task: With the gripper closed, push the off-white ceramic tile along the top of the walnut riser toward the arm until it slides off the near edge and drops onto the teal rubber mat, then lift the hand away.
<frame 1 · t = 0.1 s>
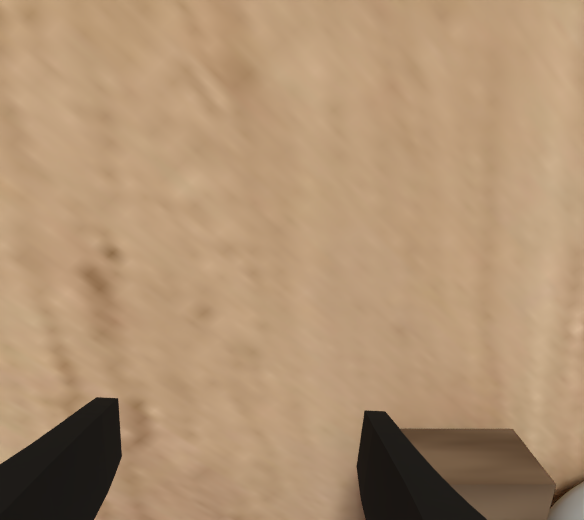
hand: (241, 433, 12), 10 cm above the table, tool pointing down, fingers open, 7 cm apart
riser: (436, 494, 25), on the table
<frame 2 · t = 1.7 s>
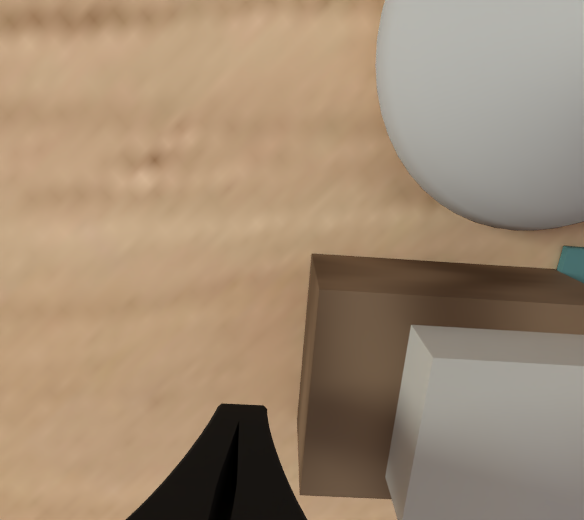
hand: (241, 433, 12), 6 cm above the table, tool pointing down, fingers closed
flower in vase: (525, 38, 14), on the table
riser: (418, 349, 17), on the table
tile: (484, 410, 14), point 4 cm above the table, touching riser
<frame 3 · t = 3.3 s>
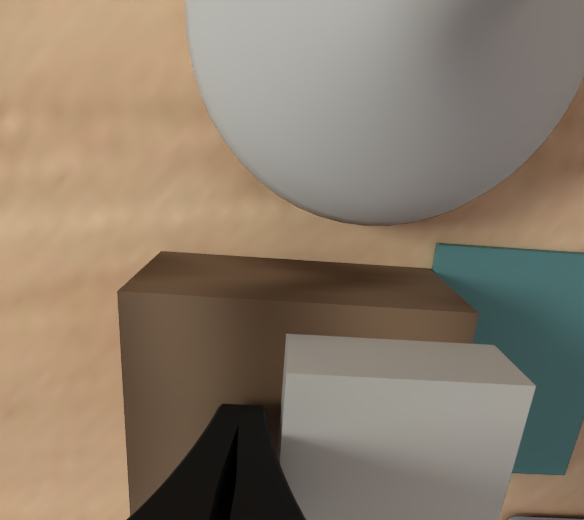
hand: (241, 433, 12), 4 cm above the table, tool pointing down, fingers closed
mat: (504, 367, 16), on the table
flower in vase: (376, 12, 13), on the table
riser: (289, 355, 16), on the table
tile: (377, 427, 12), point 4 cm above the table, touching gripper, riser
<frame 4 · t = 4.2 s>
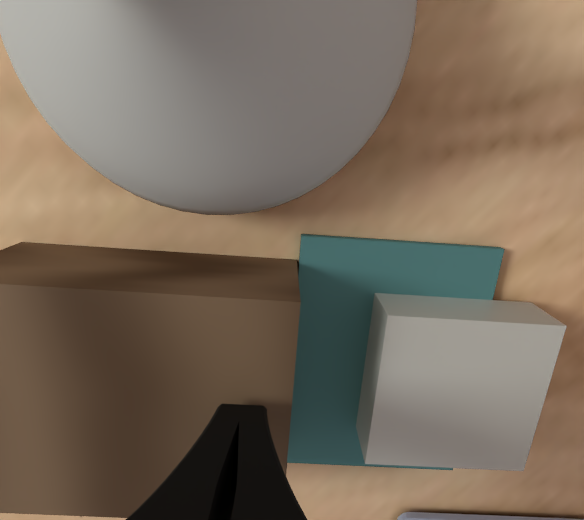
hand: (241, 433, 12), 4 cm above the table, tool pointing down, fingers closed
mat: (382, 360, 16), on the table
riser: (162, 348, 16), on the table
tile: (460, 398, 14), point 2 cm above the table, tilted 180°, touching mat
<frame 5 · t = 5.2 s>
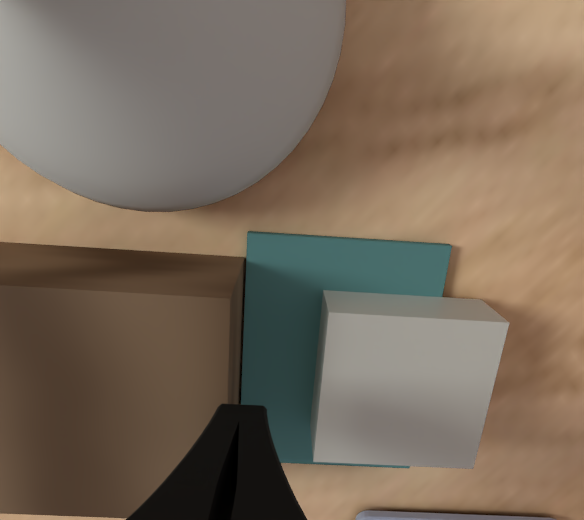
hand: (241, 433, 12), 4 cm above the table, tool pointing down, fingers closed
mat: (335, 358, 16), on the table
riser: (113, 346, 16), on the table
tile: (406, 396, 14), point 2 cm above the table, tilted 180°, touching mat
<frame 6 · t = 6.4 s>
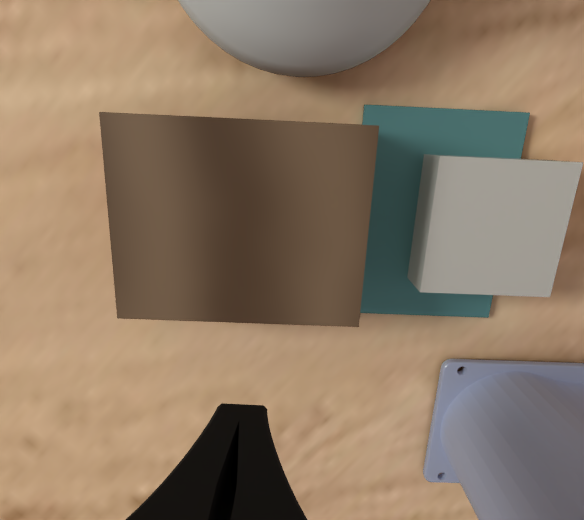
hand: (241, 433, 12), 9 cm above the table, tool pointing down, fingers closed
mat: (429, 218, 20), on the table
riser: (249, 210, 19), on the table
tile: (497, 230, 17), point 2 cm above the table, tilted 180°, touching mat
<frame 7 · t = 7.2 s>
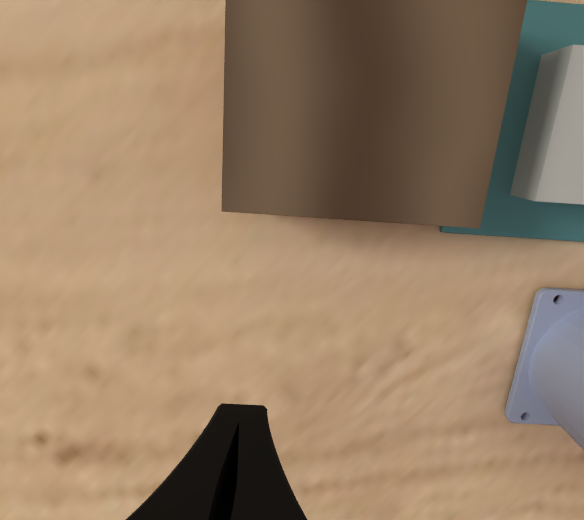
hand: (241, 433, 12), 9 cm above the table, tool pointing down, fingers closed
mat: (538, 129, 18), on the table
riser: (348, 115, 18), on the table
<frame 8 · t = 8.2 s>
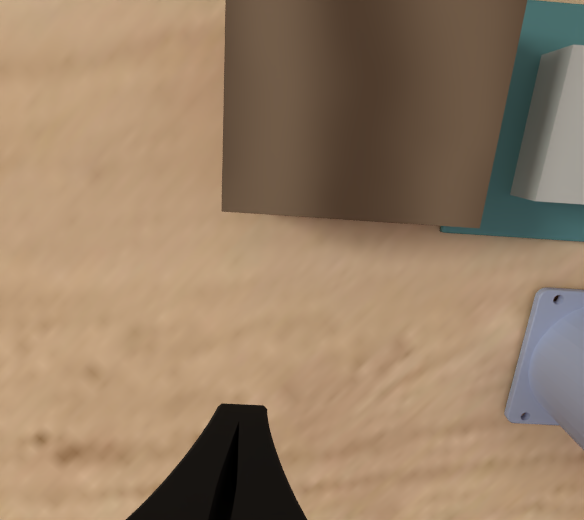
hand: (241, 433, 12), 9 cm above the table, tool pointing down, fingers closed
mat: (538, 129, 18), on the table
riser: (348, 115, 18), on the table
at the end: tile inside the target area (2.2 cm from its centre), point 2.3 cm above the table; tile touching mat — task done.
